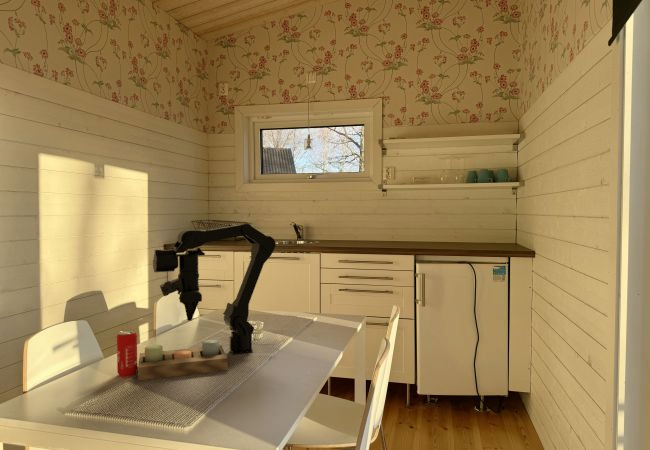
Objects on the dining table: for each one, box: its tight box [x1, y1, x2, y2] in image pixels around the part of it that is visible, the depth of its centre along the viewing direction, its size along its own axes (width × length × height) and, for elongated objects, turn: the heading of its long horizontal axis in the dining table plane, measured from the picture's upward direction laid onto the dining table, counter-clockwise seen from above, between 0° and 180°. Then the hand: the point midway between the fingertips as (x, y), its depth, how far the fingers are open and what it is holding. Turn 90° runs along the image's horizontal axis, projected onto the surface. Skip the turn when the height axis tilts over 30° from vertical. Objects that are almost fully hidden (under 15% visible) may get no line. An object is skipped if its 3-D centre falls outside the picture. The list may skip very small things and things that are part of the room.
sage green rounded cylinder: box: [201, 339, 220, 357], centre depth 142 cm, size 5×5×4 cm
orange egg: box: [174, 351, 191, 359], centre depth 139 cm, size 5×5×4 cm
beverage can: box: [116, 329, 138, 378], centre depth 133 cm, size 5×5×12 cm
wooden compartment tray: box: [137, 345, 229, 381], centre depth 139 cm, size 24×14×4 cm, turn 109°
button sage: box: [144, 344, 164, 362], centre depth 136 cm, size 5×5×4 cm
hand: (189, 320), depth 147 cm, fingers closed
